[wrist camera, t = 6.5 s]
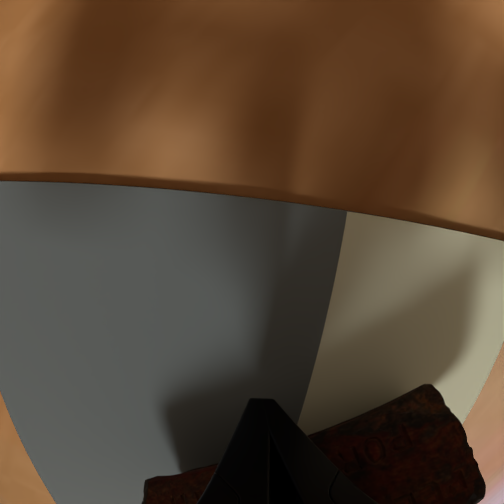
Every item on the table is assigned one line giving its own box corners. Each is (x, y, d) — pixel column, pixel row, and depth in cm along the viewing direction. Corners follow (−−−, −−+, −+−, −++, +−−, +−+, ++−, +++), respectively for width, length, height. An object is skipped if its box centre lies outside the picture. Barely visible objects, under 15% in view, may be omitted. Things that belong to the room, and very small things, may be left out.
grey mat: (62, 509, 13) (61, 512, 12) (-31, 180, 8) (-34, 181, 7) (381, 525, 14) (382, 528, 14) (529, 246, 9) (532, 248, 9)
